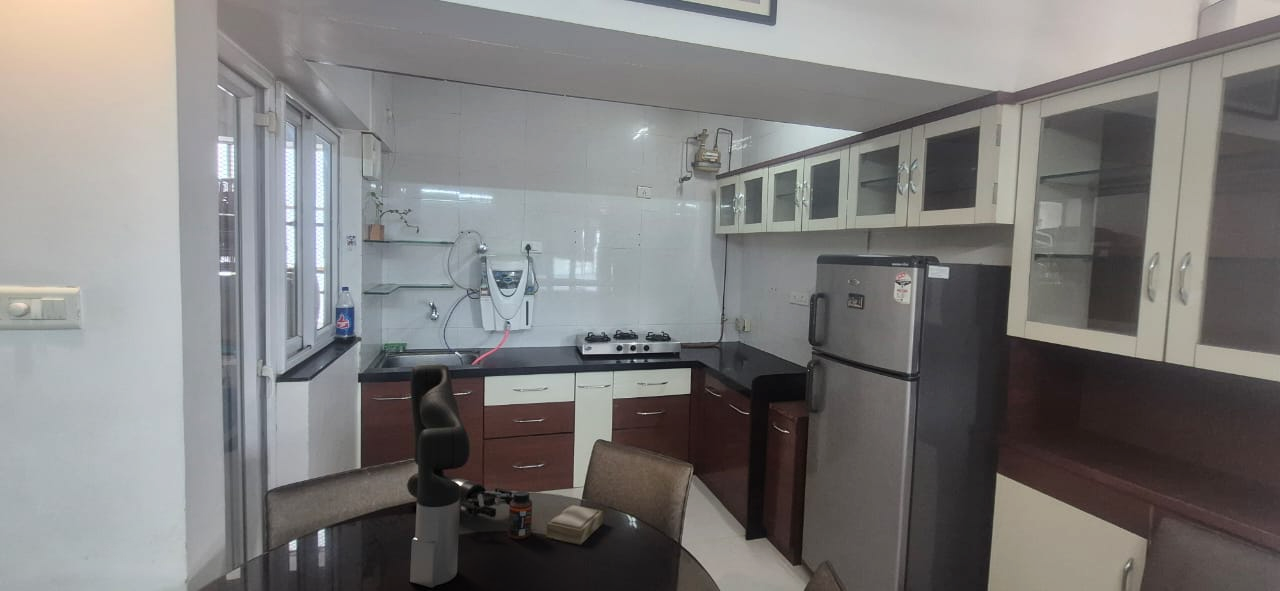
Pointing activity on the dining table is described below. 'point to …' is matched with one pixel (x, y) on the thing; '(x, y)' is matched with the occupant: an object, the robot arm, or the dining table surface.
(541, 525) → the dining table surface
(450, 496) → the robot arm
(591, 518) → the beige flat block
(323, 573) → the dining table surface
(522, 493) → the supplement bottle
